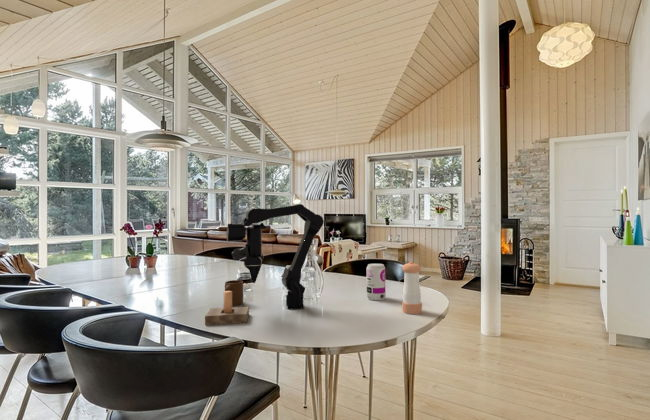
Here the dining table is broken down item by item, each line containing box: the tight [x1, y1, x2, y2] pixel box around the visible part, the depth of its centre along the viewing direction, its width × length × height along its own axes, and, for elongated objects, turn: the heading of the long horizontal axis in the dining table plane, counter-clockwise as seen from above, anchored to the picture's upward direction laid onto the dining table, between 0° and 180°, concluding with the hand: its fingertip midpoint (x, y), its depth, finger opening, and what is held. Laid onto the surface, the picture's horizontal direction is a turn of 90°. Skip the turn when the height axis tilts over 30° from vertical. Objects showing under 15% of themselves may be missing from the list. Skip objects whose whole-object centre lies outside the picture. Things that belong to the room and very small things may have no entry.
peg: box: [223, 290, 233, 313], centre depth 129 cm, size 3×3×10 cm
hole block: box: [204, 306, 250, 326], centre depth 129 cm, size 14×10×3 cm
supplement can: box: [365, 263, 387, 301], centre depth 158 cm, size 8×8×15 cm
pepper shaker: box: [401, 261, 423, 315], centre depth 137 cm, size 7×7×19 cm
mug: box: [224, 279, 244, 307], centre depth 149 cm, size 12×8×9 cm, turn 173°
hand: (254, 280), depth 139 cm, fingers open, 9 cm apart
